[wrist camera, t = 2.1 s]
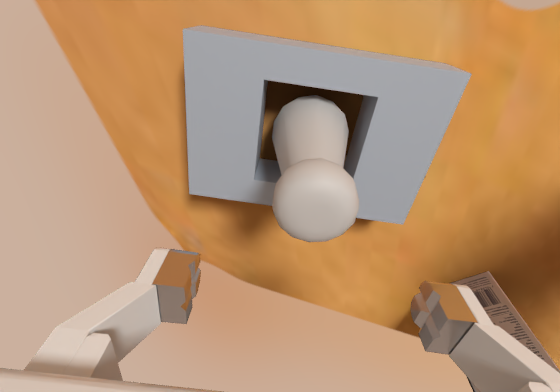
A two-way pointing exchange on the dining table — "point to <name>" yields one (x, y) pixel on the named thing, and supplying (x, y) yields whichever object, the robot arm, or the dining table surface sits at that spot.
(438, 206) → the dining table surface
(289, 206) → the salt shaker
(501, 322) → the juice carton
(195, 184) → the socket board
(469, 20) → the dining table surface
